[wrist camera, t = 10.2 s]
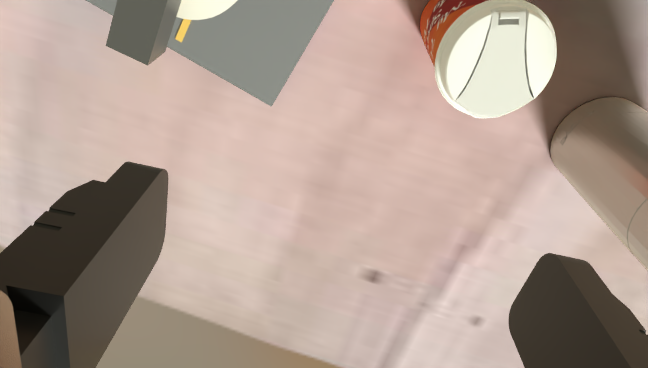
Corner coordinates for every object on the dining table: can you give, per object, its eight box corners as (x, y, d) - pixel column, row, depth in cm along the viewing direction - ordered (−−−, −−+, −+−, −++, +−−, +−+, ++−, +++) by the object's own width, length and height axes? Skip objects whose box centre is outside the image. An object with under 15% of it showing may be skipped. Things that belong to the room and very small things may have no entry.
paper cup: (411, -25, 38) (446, 2, 26) (502, -27, 37) (580, -1, 25) (404, 66, 42) (432, 126, 30) (486, 65, 41) (548, 125, 29)
